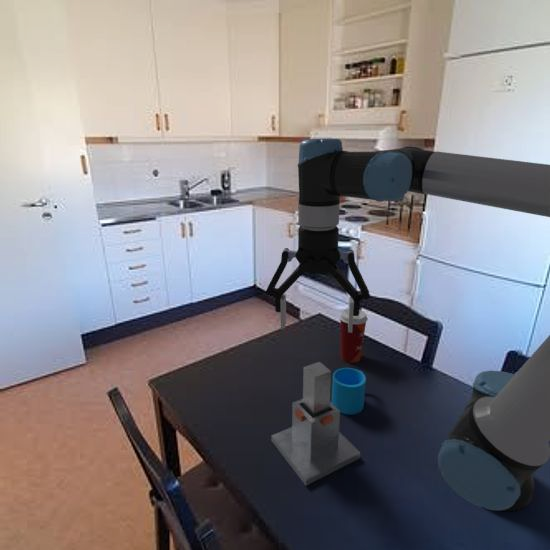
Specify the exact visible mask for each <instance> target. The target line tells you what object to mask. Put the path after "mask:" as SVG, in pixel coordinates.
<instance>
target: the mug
mask: <svg viewBox="0 0 550 550" xmlns="http://www.w3.org/2000/svg"><path fill="white" fill-rule="evenodd" d="M366 379H367V377H366V373H365V372H364V371H362V370H359V369H356V368H351V367H342V368H338V369H337V370H335V371H334V373H333V374H332V387H331V403H332V404H333V405H334V406H335V407H337V408H338V409H339V410H340V414H343V415H349V416H350V415H356V414H359V413H361V412H362V411H363V409H364V405H365V394H366V384H367V383H366Z"/></svg>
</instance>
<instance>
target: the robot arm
mask: <svg viewBox="0 0 550 550" xmlns="http://www.w3.org/2000/svg"><path fill="white" fill-rule="evenodd" d="M298 148H299V150H298V162H297V171H298V172H297V173H298V204H297V205H298V206H297V208H298V209H297V210H298V213H297V214H298V217H297V218H298V221H297V222H298V223H297V224H298V225H300V226H299V228H298V231H297V233H298V234H297V235H298V236H297V237H298V243H297V247H298V248H297V250H292V249H289V248H288V247H285V248H284V249H283V250H282V252H281V257H280V263H279V265H278V267H277V269H276V270H275V273H273V274H274V275H273V277H272V278H271V280H270V282H269V284H268V286H267V289H266V290H265V294H266V295H267V296H272V297H274V306H275V308H274V311H275V312H276V313H280V329H282V330H283V329H285V328H286V324H287V300H286V299H287V295H286V293H287V291H288V290H289V289H290V288H291V287H292V286H293V285H294V283H295V282H296V281H297V280H298V279H299V278H301V277H302V276H303V275H304V273H305V272H306V273H307V274H309V275H324V276H325V275H326V274H330V275H331V276H332V277H333V278H334V279H335V280H336V282H338V284H339V285H340V286H341V287H342V289H344V291H346V294H348V296H349V299H348V300H349V304H348V309H349V319H348V332H350V333H352V327H353V316H358V315H359V310H360V308H361V307H360V306H361V305H360V302H361V301H362V300H369V299H370V298H371V296H370V291H369V289H368V285H367V284H366V282H365V279H364V278H363V276H362V273H361V271H360V269H359V267H358V265H357V263H356V261H355V251H354V250H353V249H349V250H348V251H342V252H340V250H339V236H340V235H339V234H340V233H339V231H340V229H339V228H338V225H339V223H340V210H341V208H340V207H341V200H340V199H341V197H344V198H345V197H347V198H354V199H362V200H371V201H376V202H398V201H401V200H403V199H404V197H405V195H406V194H407V193H408V192H410V193H416V194H422V195H426V196H427V195H429V196H433V197H439V198H444V199H445V198H446V199H450V200H455V201H459V202H461V201H462V202H466V203H471V204H476V205H477V204H478V205H481V206H487V207H493V208H498V209H504V210H508V211H514V212H520V213H524V214H525V213H526V214H531V215H537V216H541V217H546V218H550V164H548V163H547V164H545V163H538V162H529V161H520V160H512V159H504V158H494V157H487V156H486V157H485V156H480V155H479V156H477V155H469V154H462V153H454V152H443V151H433V150H428V149H427V150H425V149H423V148H421V147H418V146H404V147H401V148H394V149H384V150H377V151H348V150H344V149H343V142H342V140H341V139H340V138H328V137H327V138H325V137H324V138H307V139H303V140H302V141H301V142H300V144H299V147H298ZM294 258H295V259H296V260H297V261H298V263H299V265H298V266H297V267H296V268H295V270H294V271H292V272H291V274H290V275H289V276H288V277H287V278H286V279H285V280H284V281H283V282H282V283H281V285H280V286H279V287H277V288H276V286H277V284H278V283H279V280H280V279H281V276H282V274H283V273H284V270H285V269H286V267H287V265H288V262H289V263H290V262H292V260H293V259H294ZM340 260H343V262H344V264H347V265H348V268H349V270H350V272H351V274H352V276H353V279H354V281H355V282H356V286H358V289H359V291H358V290H357V288H355V286H354V285H353V284H352V283H351V281H350V280H349V279H348V278H347V277H346V276H345V274H344V273H343V272H342V271H341V269H340V268H339V267H338V265H337V264H338V262H339V261H340ZM549 442H550V334H549V335H548V336H547V338H546V339H544V341H543V342H542V343H541V345H540V346H539V347H538V348H537V349H536V350H535V351H534V352H533V354H532V355H530V357H529V358H528V359H527V360H526V361H525V363H524V364H523V365H522V366H521V367H520V368H519V369H518V370H517V371H516V373H515V374H514V373H510V372H506V371H501V370H485V371H481V372H480V373H477V375H476V376H475V379H474V382H472V392H471V395H470V399H469V401H468V402H467V404H466V406H465V407H464V410H463V411H462V412H461V414H460V416H459V418H458V419H457V421H456V422H455V424H454V425H453V427H452V429H451V430H450V432H449V434H448V436H447V437H446V439H445V440H444V441H443V442H442V443H441V445H440V450H439V452H438V455H437V463H438V468H439V470H440V471H441V475H442V477H443V479H444V480H445V482H446V483H447V484H448V486H450V488H451V490H453V491H454V492H455V493H456V494H458V495H459V496H460V497H461V498H463V499H464V500H466V501H468V502H469V503H471V504H472V505H475V506H477V507H479V508H480V507H481V508H484V509H487V510H490V511H502V512H515V511H520V510H522V509H524V508H526V507H527V506H529V505H530V503H531V502H532V498H533V495H534V491H535V480H534V473H536V472H537V470H538V469H540V468H541V467H542V466H543V465H544V464H546V463H547V462H548V461H549V459H550V443H549Z"/></svg>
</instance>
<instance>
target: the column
mask: <svg viewBox="0 0 550 550" xmlns="http://www.w3.org/2000/svg"><path fill="white" fill-rule="evenodd" d="M302 372H303V375H302V376H303V380H302V381H303V383H302V399H303V409H304V410H305V411H306V412H307V413H308V414H309V415H310V416H311V417H312V418H315V417H317V416H320V415H322V414H324V413H327V412H329V405H330V402H331V382H332V370H330V369H329V368H328V367H326V366H325V364H324V363H322V362H320V361H317V362H314V363H312V364H309V365H305V366H303V371H302Z"/></svg>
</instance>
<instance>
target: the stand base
mask: <svg viewBox="0 0 550 550" xmlns="http://www.w3.org/2000/svg"><path fill="white" fill-rule="evenodd" d="M291 405H292V409H291V410H292V411H291V412H292V413H291V414H292V416H291V420H292V421H291V422H292V423H291V427H288V428H287V429H284V430H282V431H281V430H280V431H279V432H277V433H274V434H272V435H271V438H270V439H271V443H272V444H273V445H274V446H275V448H277V450H278V452H279V453H280V454H281V455H282V457H283V458H284V460H285V461H286V462H287V463H288V465H289V466H290V467H291V468H292V470H293V471H294V472H295V474H296V475H297V477H298V478H299V479H300V481H302V483H303V484H304V486H306V487H307V486H309V485H310V484H313V483H314V482H316V481H319V480H321V479H322V478H324V477H326V476H329V475H330V474H332V473H334V472H335V471H338V470H339V469H342V468H344V467H345V466H348V465H350V464H351V463H354V462H355V461H358V460H360V458H361V452H360V451H359V450H358V449H357V448H356V447H355V446H354V444H353V443H351V442H350V441H349V440H348V439H347V438H346V436H344V435H343V434H342V433H341V432H340V422H341V421H340V420H341V419H340V418H341V413H340V410H339V409H338V408H337V407H335V406H334V405H333V404H332V401H330V405H329V412H327V413H324V414H322V415H320V416H317V417H315V418H312V417H311V416H310V415H309V414H308V413H307V412H306V411H305V410H304V409H303V398H301V399H298V400H295V401H293V402H292V404H291Z"/></svg>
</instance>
